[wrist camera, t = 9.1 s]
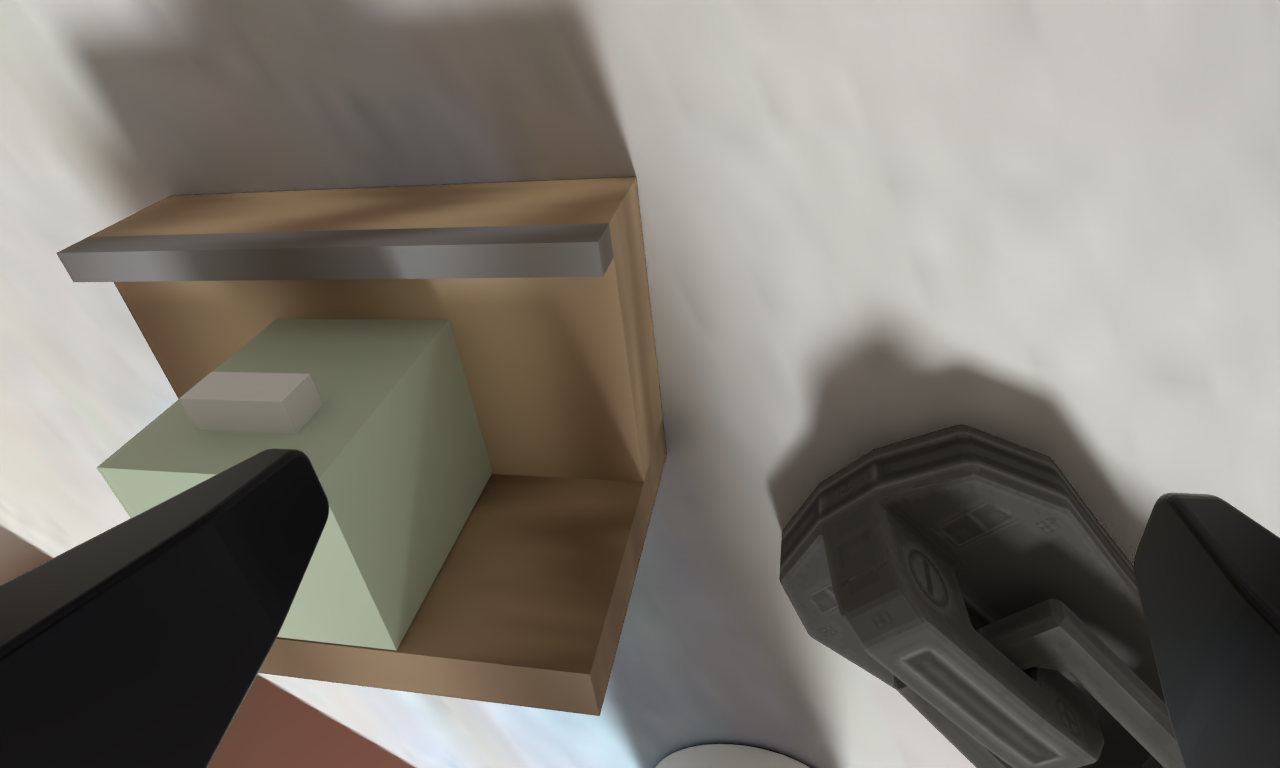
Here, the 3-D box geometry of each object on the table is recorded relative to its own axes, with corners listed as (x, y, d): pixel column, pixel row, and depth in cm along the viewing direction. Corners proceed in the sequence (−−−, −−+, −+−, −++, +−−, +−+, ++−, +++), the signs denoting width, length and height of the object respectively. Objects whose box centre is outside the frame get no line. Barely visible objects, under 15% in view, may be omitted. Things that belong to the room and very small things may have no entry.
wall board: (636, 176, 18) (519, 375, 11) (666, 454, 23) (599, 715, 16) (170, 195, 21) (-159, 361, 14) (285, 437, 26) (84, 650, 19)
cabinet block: (440, 291, 18) (301, 446, 13) (492, 472, 21) (396, 650, 16) (263, 291, 19) (74, 435, 14) (338, 463, 22) (205, 628, 17)
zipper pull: (1233, 1066, 26) (720, 708, 19) (1161, 861, 31) (740, 528, 25) (1569, 1051, 21) (1031, 568, 15) (1416, 811, 26) (973, 382, 20)
